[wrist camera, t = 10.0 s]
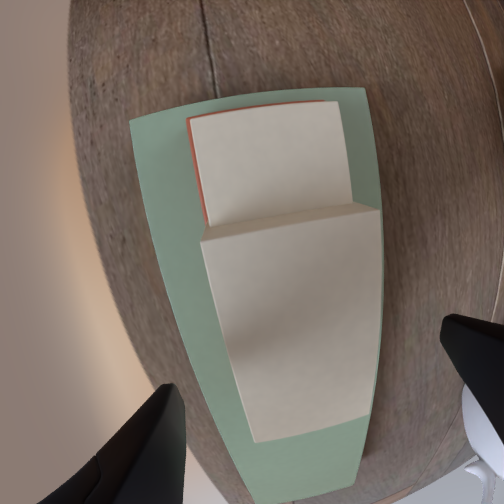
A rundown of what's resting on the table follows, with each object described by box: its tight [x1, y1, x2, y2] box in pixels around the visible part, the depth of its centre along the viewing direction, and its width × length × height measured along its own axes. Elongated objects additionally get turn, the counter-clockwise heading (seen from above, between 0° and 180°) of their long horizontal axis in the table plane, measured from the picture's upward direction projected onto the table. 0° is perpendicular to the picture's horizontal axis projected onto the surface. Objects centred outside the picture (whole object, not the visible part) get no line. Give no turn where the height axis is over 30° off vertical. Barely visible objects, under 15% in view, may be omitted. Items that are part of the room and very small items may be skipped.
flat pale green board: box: [129, 87, 384, 504], centre depth 18 cm, size 36×11×3 cm, turn 10°
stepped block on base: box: [186, 100, 382, 443], centre depth 11 cm, size 14×6×5 cm, turn 10°
